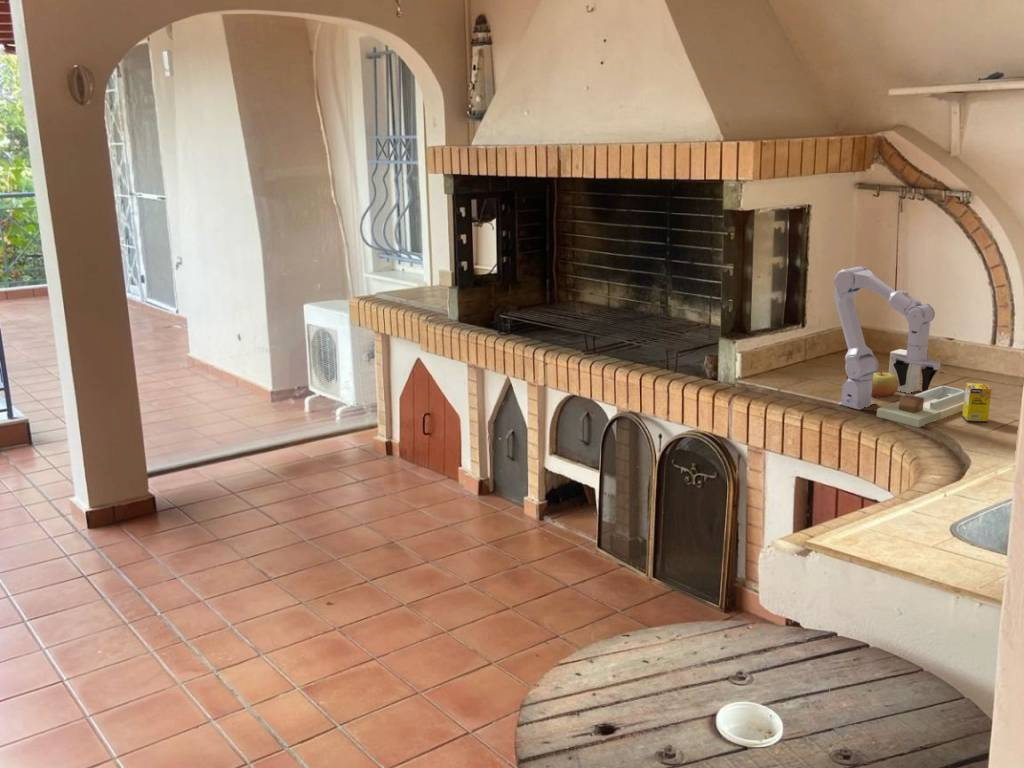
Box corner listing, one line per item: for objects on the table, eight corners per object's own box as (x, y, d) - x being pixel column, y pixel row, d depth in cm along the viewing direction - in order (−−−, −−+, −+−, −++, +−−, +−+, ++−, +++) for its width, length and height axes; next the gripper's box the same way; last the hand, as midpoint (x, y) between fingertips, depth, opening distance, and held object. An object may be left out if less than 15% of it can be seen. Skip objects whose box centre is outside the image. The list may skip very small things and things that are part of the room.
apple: (868, 389, 327) (870, 366, 324) (899, 393, 322) (901, 370, 319) (862, 397, 318) (864, 373, 316) (893, 401, 314) (896, 377, 311)
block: (913, 413, 293) (914, 400, 292) (898, 409, 297) (899, 397, 296) (922, 410, 296) (924, 397, 295) (907, 406, 300) (909, 394, 299)
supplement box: (987, 423, 290) (992, 388, 287) (966, 423, 291) (970, 388, 288) (982, 417, 295) (986, 383, 292) (961, 417, 297) (965, 382, 294)
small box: (918, 390, 324) (922, 352, 321) (909, 394, 321) (912, 356, 317) (896, 385, 331) (899, 348, 327) (886, 389, 327) (889, 351, 323)
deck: (918, 427, 288) (919, 413, 287) (876, 416, 299) (877, 402, 298) (974, 406, 306) (976, 392, 305) (933, 396, 317) (934, 383, 316)
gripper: (947, 346, 288) (943, 390, 292) (903, 338, 299) (899, 380, 303) (934, 350, 284) (930, 394, 288) (890, 341, 295) (886, 384, 299)
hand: (913, 387), depth 295 cm, fingers open, 7 cm apart
